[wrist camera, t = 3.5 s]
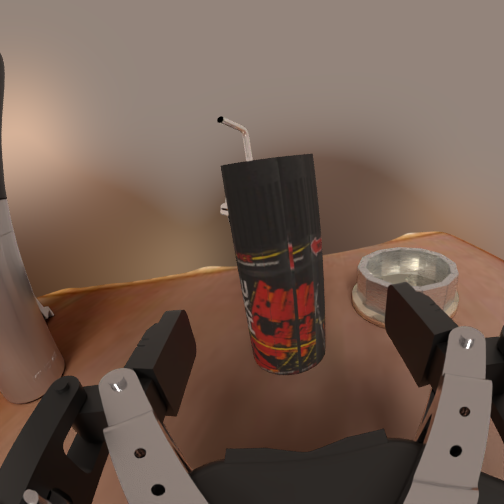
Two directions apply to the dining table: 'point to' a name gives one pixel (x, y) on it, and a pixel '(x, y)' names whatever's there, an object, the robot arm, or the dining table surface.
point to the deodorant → (279, 259)
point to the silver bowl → (404, 280)
